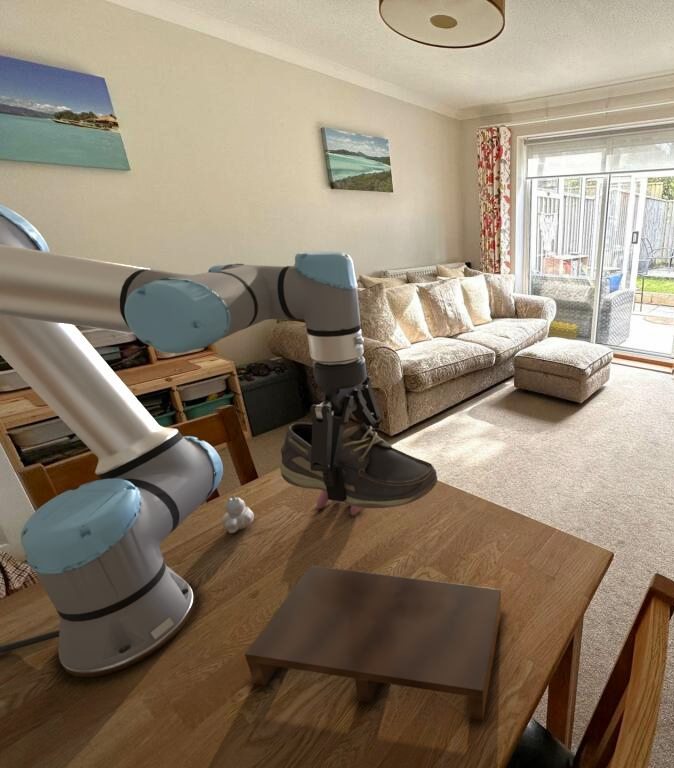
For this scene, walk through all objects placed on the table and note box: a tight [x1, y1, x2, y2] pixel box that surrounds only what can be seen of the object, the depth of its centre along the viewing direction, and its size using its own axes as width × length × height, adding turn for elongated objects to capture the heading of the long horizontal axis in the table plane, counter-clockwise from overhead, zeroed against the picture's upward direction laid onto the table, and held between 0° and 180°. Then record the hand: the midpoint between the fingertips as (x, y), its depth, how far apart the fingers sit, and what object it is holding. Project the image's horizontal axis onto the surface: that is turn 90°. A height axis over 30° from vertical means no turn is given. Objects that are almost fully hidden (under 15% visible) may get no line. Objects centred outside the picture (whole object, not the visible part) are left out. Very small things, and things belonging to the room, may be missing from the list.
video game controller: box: [316, 490, 361, 516], centre depth 89 cm, size 10×5×7 cm, turn 77°
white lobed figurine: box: [221, 493, 255, 534], centre depth 81 cm, size 5×7×8 cm
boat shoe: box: [279, 421, 438, 509], centre depth 68 cm, size 11×29×11 cm, turn 77°
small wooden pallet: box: [244, 565, 502, 721], centre depth 59 cm, size 32×15×6 cm, turn 83°
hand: (355, 478), depth 70 cm, fingers closed on boat shoe, 11 cm apart
